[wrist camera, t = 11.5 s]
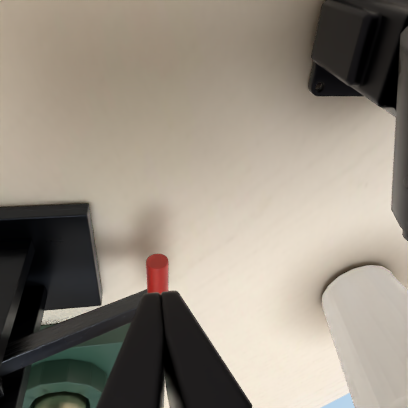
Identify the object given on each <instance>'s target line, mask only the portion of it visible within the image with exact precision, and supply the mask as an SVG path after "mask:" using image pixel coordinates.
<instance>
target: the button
mask: <svg viewBox="0 0 408 408" xmlns="http://www.w3.org/2000/svg"><path fill="white" fill-rule="evenodd" d="M86 402H87V401H86V397H85V396H83V395H81V394H80V393H73V392H67V391H62V392H54V393H47V394H44V395H42V396H40V397H38V398H37V400H36V402H35V407H34V408H86Z"/></svg>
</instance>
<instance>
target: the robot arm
mask: <svg viewBox="0 0 408 408" xmlns="http://www.w3.org/2000/svg"><path fill="white" fill-rule="evenodd" d="M311 57H312V59H313V60H314V62H313V66H312V71H311V75H310V80H309V85H308V88H309V91H310V92H311V93H313V94H314V95H315V96H365V97H366V98H368V99H369V100H371V101H372V102H374V103H375V104H376V105H378V106H379V107H382V108H383V109H385V110H386V111H387V112H389V113H390V114H392V115H393V116H395V117H396V125H395V144H394V162H393V181H392V203H391V210H392V212H393V214H394V216H395V218H396V220H397V221H398V223H399V225H400V227H401V228H402V229H403V234H402V235H403V237H404V238H405V239H406V240H407V241H408V0H326V1H325V2H324V3H323V4H322V8H321V13H320V17H319V22H318V27H317V31H316V36H315V41H314V45H313V50H312V55H311ZM320 82H322V85H321V87H320V88H319V89H316V85H317V84H318V83H320ZM165 383H166V389H167V395H168V400H169V406H170V408H252V404H251V403H250V401H249V400H248V398H247V397H246V395H245V393H244V392H243V390H242V389H241V387H240V386H239V384H238V383H237V381H236V380H235V378H234V377H233V375H232V374H231V372H230V371H229V369H228V367H227V366H226V364H225V363H224V361H223V360H222V358H221V357H220V355H219V354H218V352H217V351H216V349H215V348H214V346H213V344H212V343H211V341H210V340H209V338H208V337H207V335H206V334H205V332H204V331H203V329H202V328H201V326H200V325H199V323H198V322H197V320H196V318H195V317H194V315H193V314H192V312H191V311H190V309H189V308H188V306H187V305H186V303H185V302H184V300H183V299H182V297H181V296H180V294H179V293H178V292H177V291H165V292H162V293H161V296H160V293H158V292H153V293H145V294H143V296H142V297H141V300H140V302H139V305H138V307H137V310H136V312H135V314H134V317H133V319H132V322H131V324H130V327H129V329H128V331H127V334H126V336H125V339H124V341H123V343H122V346H121V348H120V351H119V353H118V356H117V358H116V360H115V363H114V365H113V368H112V370H111V372H110V375H109V377H108V380H107V382H106V385H105V387H104V389H103V392H102V394H101V397H100V399H99V401H98V404H97V406H96V408H164V387H165Z"/></svg>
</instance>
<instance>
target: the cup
mask: <svg viewBox="0 0 408 408" xmlns="http://www.w3.org/2000/svg"><path fill="white" fill-rule="evenodd" d="M322 308H323V311H324V314H325V317H326V320H327V323H328V326H329V329H330V332H331V335H332V338H333V342H334V345H335V348H336V351H337V354H338V357H339V360H340V363H341V366H342V369H343V372H344V376H345V379H346V382H347V385H348V388H349V391H350V394H351V397H352V400H353V403H354V406H355V408H408V290H407V289H406V288H405V287H404V286H403V285H402V284H401V283H400V282H399V281H398V280H397V279H396V277H395V276H394V275H393V274H392V272H391V271H390V270H388V269H386V268H384V267H382V266H374V265H367V266H363V267H358V268H354V269H352V270H350V271H348V272H346V273H344V274H342V275H340V276H339V277H338V278H336V279H335V280H334V281H333V282H332V283H331V284H330V285H328V287H327V289H326V290H325V292H324V294H323V296H322Z"/></svg>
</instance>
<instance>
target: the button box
mask: <svg viewBox="0 0 408 408" xmlns="http://www.w3.org/2000/svg"><path fill="white" fill-rule="evenodd" d="M130 324H131V323H128V324H126V325H124V326H121V327H119V328H117V329H114V330H112V331H109V332H107V333H105V334H102V335H100V336H97V337H95V338H93V339H90V340H88V341H86V342H83V343H81V344H78V345H76V346H74V347H71V348H69V349H66V350H64V351H62V352H59V353H57V354H54V355H52V356H50V357H47V358H45V359H43V360H40V361H38V362H35V363H33V364H32V366H31V371H30V375H29V379H28V384H27V388H26V393H25V397H24V402H23V406H22V408H34V407H35V402H36V400H37V398H38V397H40V396H42V395H44V394H47V393H54V392H62V391H67V392H73V393H80V394H81V395H83V396H85V397H86V401H87V402H86V408H96V406H97V404H98V401H99V399H100V397H101V394H102V392H103V389H104V387H105V385H106V382H107V380H108V377H109V375H110V372H111V370H112V368H113V365H114V363H115V360H116V358H117V356H118V353H119V351H120V348H121V346H122V343H123V341H124V339H125V336H126V334H127V331H128V329H129V327H130ZM54 325H56V324H54ZM50 326H53V325H43V326H40V330H43V329H45V328H48V327H50Z"/></svg>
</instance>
